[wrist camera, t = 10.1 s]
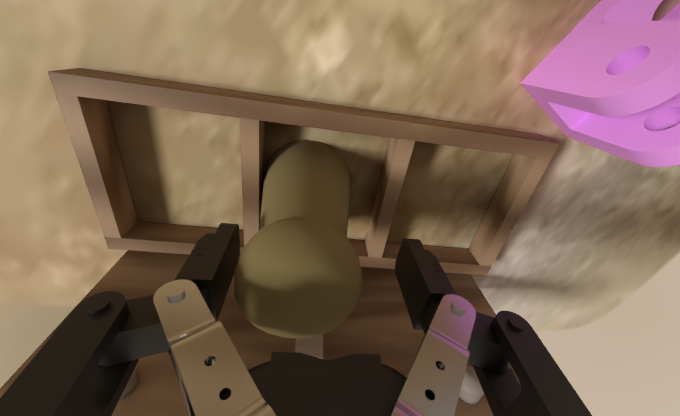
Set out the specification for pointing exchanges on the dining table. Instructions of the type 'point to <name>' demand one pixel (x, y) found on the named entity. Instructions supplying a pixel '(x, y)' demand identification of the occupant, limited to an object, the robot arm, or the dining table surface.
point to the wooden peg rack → (178, 240)
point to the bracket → (617, 82)
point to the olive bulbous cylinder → (301, 246)
